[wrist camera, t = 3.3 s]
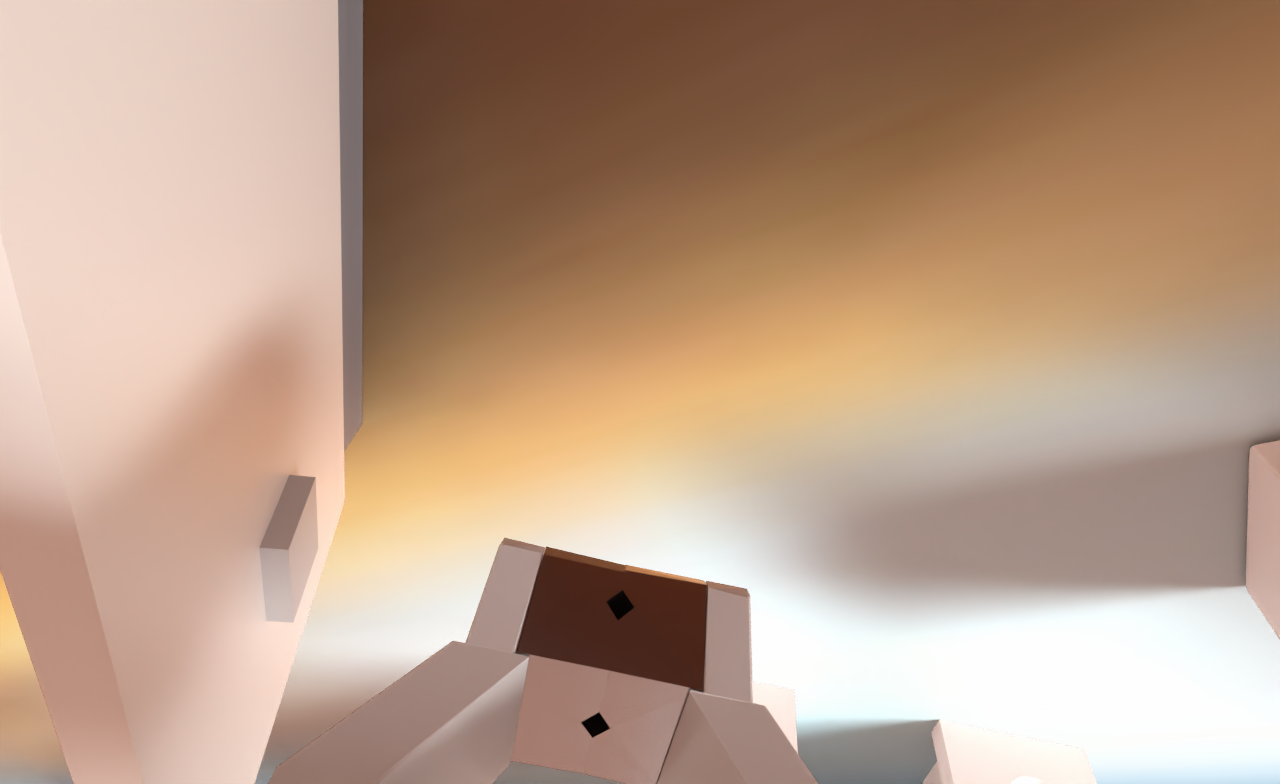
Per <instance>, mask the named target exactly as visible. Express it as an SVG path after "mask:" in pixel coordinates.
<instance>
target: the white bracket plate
mask: <svg viewBox="0 0 1280 784" xmlns="http://www.w3.org/2000/svg"><path fill="white" fill-rule="evenodd" d="M752 691H753V703H756V704H760V705H764V706H766V707H767V709H768V710H769V712H770V713H771V715H772V716H773V718H774V719H775V721H776V722H777V724H778V725H779V727H780V728H781V730H782V731H783V733H784V734H785V736H786V737H787V739H788V740H789V742H790V743H791V745H792V746H793V747H794V749H795V750H796V752H797V753H798V746H797V729H796V712H795V695H794V690H793V689H788V688H783V687H778V686H774V685H769V684H764V683H759V682H754V681H752ZM931 734H932V738H933V743H934V748H935V753H936V757H937V762H936V763H935V765H934V766H933V768H932V769H931V771H930V772H929V774H928V775H927V777H926V778H925V780H924V781H923V783H922V784H1097V782H1096V779H1095V777H1094V774H1093V771H1092V769H1091V766H1090V763H1089V761H1088V758H1087V755H1086V753H1085V750H1084V749H1081V748H1076V747H1071V746H1067V745H1062V744H1057V743H1052V742H1047V741H1042V740H1037V739H1032V738H1028V737H1023V736H1018V735H1013V734H1008V733H1003V732H998V731H993V730H988V729H984V728H979V727H974V726H969V725H964V724H959V723H954V722H949V721H944V720H939V721H938V723H937V724H936V726H935V728H934V729H933V731H932V732H931Z"/></svg>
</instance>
